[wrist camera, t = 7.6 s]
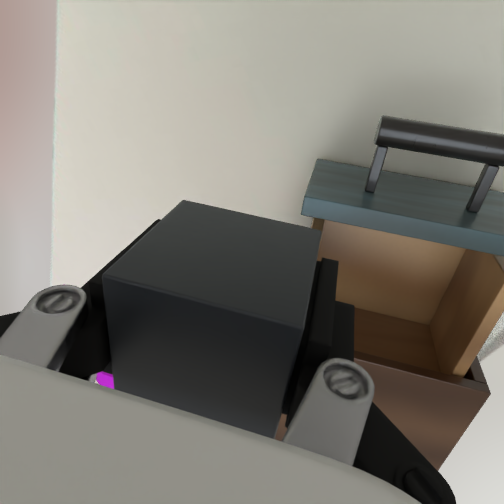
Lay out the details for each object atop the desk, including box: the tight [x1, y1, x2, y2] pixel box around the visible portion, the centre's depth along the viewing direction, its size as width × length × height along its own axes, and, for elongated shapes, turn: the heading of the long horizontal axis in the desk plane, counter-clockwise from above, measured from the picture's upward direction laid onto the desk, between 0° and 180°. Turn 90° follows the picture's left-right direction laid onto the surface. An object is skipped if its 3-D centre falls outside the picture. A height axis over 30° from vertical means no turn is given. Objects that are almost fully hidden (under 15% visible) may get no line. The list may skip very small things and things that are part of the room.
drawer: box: [301, 115, 504, 378], centre depth 25 cm, size 17×13×8 cm
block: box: [102, 200, 322, 439], centre depth 11 cm, size 5×5×5 cm
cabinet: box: [275, 350, 491, 471], centre depth 32 cm, size 14×15×10 cm
